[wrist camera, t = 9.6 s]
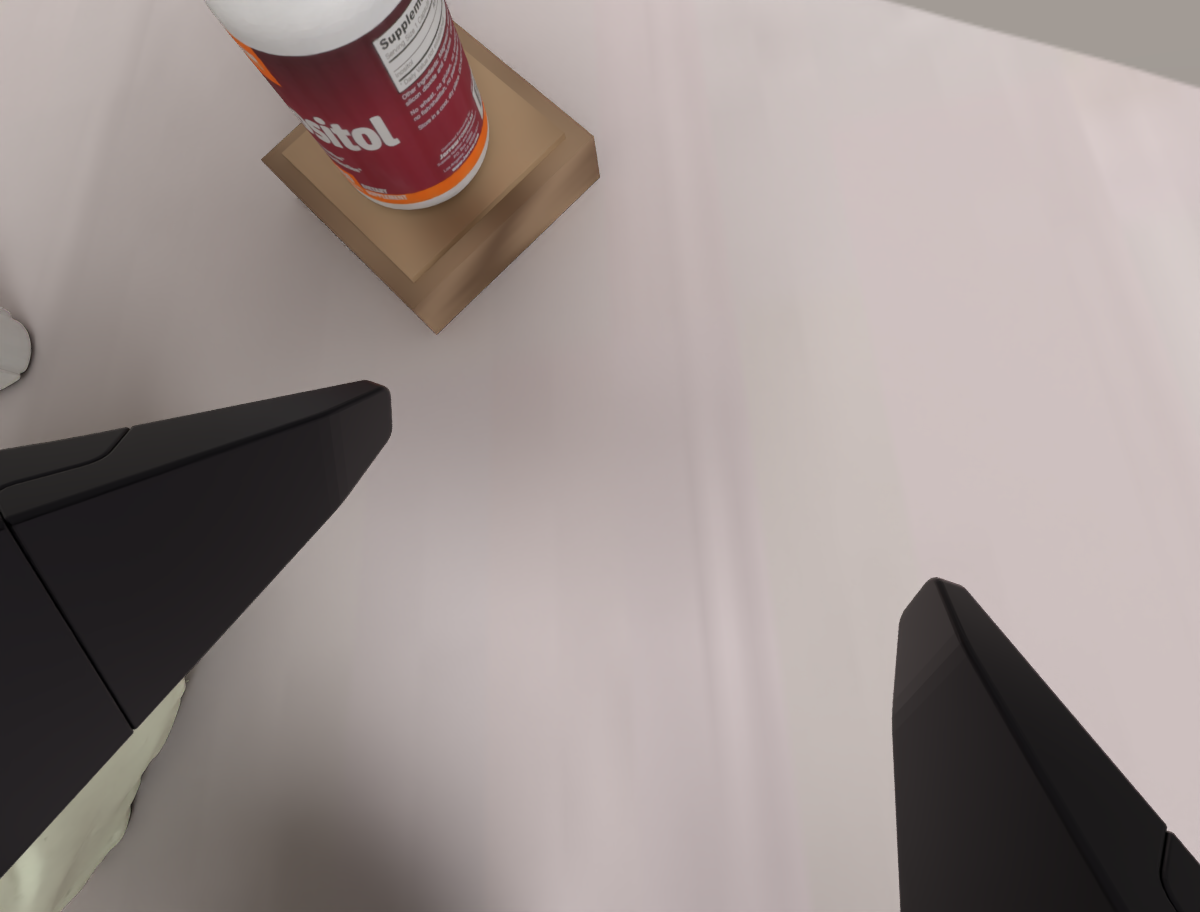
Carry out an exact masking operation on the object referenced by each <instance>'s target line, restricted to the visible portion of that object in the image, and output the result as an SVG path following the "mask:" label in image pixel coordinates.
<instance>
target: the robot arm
mask: <svg viewBox="0 0 1200 912" xmlns="http://www.w3.org/2000/svg"><path fill="white" fill-rule="evenodd" d="M391 432H392V409H391V394H390V391H389V389H388V388H387V387H385V386H383V385H380V384H377V383H374V382H371V381H368V380H362V381H357V382H352V383H347V384H342V385H337V386H332V387H327V388H322V389H317V390H312V391H307V392H302V393H296V394H291V395H286V396H281V397H276V398H271V399H266V400H261V401H256V402H251V403H246V404H241V405H236V406H231V407H226V408H221V409H216V410H211V411H206V412H201V413H196V414H191V415H186V416H181V417H176V418H171V419H166V420H161V421H156V422H151V423H146V424H141V425H136V426H133V427H132V428H131V429H130V428H127V427H125V428H120V429H115V430H110V431H105V432H100V433H95V434H89V435H84V436H79V437H73V438H68V439H62V440H57V441H52V442H45V443H39V444H33V445H27V446H20V447H14V448H8V449H2V450H0V879H1V878H2V877H3V876H4V874H5V873H6V872H7V871H8V870H9V869H10V868H11V867H12V866H13V865H14V864H15V862H16V861H17V860H18V859H19V858H20V857H21V856H22V855H23V854H24V853H25V851H26V850H27V849H28V848H29V847H30V846H31V845H32V844H33V843H34V842H35V840H36V839H37V838H38V837H39V836H40V835H41V834H42V833H43V832H44V831H45V829H46V828H47V827H48V826H49V825H50V824H51V823H52V822H53V821H54V820H55V819H56V817H57V816H58V815H59V814H60V813H61V812H62V811H63V810H64V809H65V808H66V807H67V805H68V804H69V803H70V802H71V801H72V800H73V799H74V798H75V797H76V796H77V794H78V793H79V792H80V791H81V790H82V789H83V788H84V787H85V786H86V785H87V784H88V782H89V781H90V780H91V779H92V778H93V777H94V776H95V775H96V774H97V773H98V771H99V770H100V769H101V768H102V767H103V766H104V765H105V764H106V763H107V762H108V761H109V759H110V758H111V757H112V756H113V755H114V754H115V753H116V752H117V751H118V750H119V748H120V747H121V746H122V745H123V744H124V743H125V742H126V741H127V740H128V739H129V738H130V736H131V735H132V734H133V733H134V731H133V730H135V729H137V728H138V727H139V726H140V725H141V724H142V723H143V722H144V721H145V719H146V718H147V717H148V716H149V715H150V714H151V713H152V712H153V711H154V710H155V708H156V707H157V706H158V705H159V704H160V703H161V702H162V701H163V700H164V699H165V698H166V696H167V695H168V694H169V693H170V692H171V691H172V690H173V689H174V688H175V687H176V685H177V684H178V683H179V682H180V681H181V680H182V679H183V678H184V677H185V676H186V675H187V673H188V672H189V671H190V670H191V669H192V668H193V667H194V666H195V665H196V664H197V662H198V661H199V660H200V659H201V658H202V657H203V656H204V655H205V654H206V653H207V651H208V650H209V649H210V648H211V647H212V646H213V645H214V644H215V643H216V642H217V641H218V639H219V638H220V637H221V636H222V635H223V634H224V633H225V632H226V631H227V630H228V628H229V627H230V626H231V625H232V624H233V623H234V622H235V621H236V620H237V619H238V618H239V616H240V615H241V614H242V613H243V612H244V611H245V610H246V609H247V608H248V607H249V605H250V604H251V603H252V602H253V601H254V600H255V599H256V598H257V597H258V596H259V594H260V593H261V592H262V591H263V590H264V589H265V588H266V587H267V586H268V585H269V584H270V582H271V581H272V580H273V579H274V578H275V577H276V576H277V575H278V574H279V573H280V571H281V570H282V569H283V568H284V567H285V566H286V565H287V564H288V563H289V562H290V561H291V559H292V558H293V557H294V556H295V555H296V554H297V553H298V552H299V551H300V550H301V548H302V547H303V546H304V545H305V544H306V543H307V542H308V541H309V540H310V539H311V537H312V536H313V535H314V534H315V533H316V532H317V531H318V530H319V529H320V528H321V527H322V525H323V524H324V523H325V522H326V521H327V520H328V519H329V518H330V517H331V516H332V514H333V513H334V512H335V511H336V510H337V509H338V507H339V506H340V505H341V504H342V503H343V501H344V500H345V499H346V498H347V496H348V495H349V494H350V492H351V491H352V490H353V488H354V487H355V485H356V484H357V483H358V481H359V480H360V479H361V477H362V476H363V474H364V473H365V472H366V470H367V469H368V467H369V466H370V465H371V463H372V462H373V461H374V459H375V458H376V456H377V455H378V454H379V452H380V451H381V450H382V448H383V447H384V445H385V444H386V443H387V441H388V440H389V438H390V435H391ZM892 738H893V760H894V782H895V803H896V825H897V847H898V869H899V891H900V912H1200V864H1199V863H1198V861H1197V860H1196V859H1195V858H1194V857H1193V855H1192V854H1191V853H1190V852H1189V851H1188V850H1187V848H1186V847H1185V846H1184V845H1183V844H1182V842H1181V841H1180V840H1179V839H1178V838H1177V837H1176V835H1175V834H1174V833H1172V832H1170V831H1167V826H1166V824H1165V823H1164V822H1163V820H1162V819H1161V818H1160V817H1159V816H1158V814H1157V813H1156V812H1155V811H1154V810H1153V809H1152V807H1151V806H1150V805H1149V804H1148V803H1147V802H1146V800H1145V799H1144V798H1143V797H1142V796H1141V794H1140V793H1139V792H1138V791H1137V790H1136V789H1135V787H1134V786H1133V785H1132V784H1131V783H1130V782H1129V780H1128V779H1127V778H1126V777H1125V776H1124V774H1123V773H1122V772H1121V771H1120V770H1119V769H1118V767H1117V766H1116V765H1115V764H1114V763H1113V761H1112V760H1111V759H1110V758H1109V757H1108V756H1107V754H1106V753H1105V752H1104V751H1103V750H1102V749H1101V747H1100V746H1099V745H1098V744H1097V743H1096V741H1095V740H1094V739H1093V738H1092V737H1091V736H1090V734H1089V733H1088V732H1087V731H1086V730H1085V729H1084V727H1083V726H1082V725H1081V724H1080V723H1079V721H1078V720H1077V719H1076V718H1075V717H1074V716H1073V714H1072V713H1071V712H1070V711H1069V710H1068V709H1067V707H1066V706H1065V705H1064V704H1063V703H1062V701H1061V700H1060V699H1059V698H1058V697H1057V696H1056V694H1055V693H1054V692H1053V691H1052V690H1051V689H1050V687H1049V686H1048V685H1047V684H1046V683H1045V681H1044V680H1043V679H1042V678H1041V677H1040V676H1039V674H1038V673H1037V672H1036V671H1035V670H1034V669H1033V667H1032V666H1031V665H1030V664H1029V663H1028V661H1027V660H1026V659H1025V658H1024V657H1023V656H1022V654H1021V653H1020V652H1019V651H1018V650H1017V649H1016V647H1015V646H1014V645H1013V644H1012V643H1011V641H1010V640H1009V639H1008V638H1007V637H1006V636H1005V634H1004V633H1003V632H1002V631H1001V630H1000V629H999V627H998V626H997V625H996V624H995V623H994V621H993V620H992V619H991V618H990V617H989V616H988V614H987V613H986V612H985V611H984V610H983V609H982V607H981V606H980V605H979V604H978V603H977V601H976V600H975V599H974V598H973V597H972V596H971V594H970V593H969V592H968V591H967V590H966V589H965V588H964V587H963V586H961V585H959V584H956V583H953V582H950V581H947V580H944V579H941V578H938V577H934V578H931V579H929V580H928V581H927V582H926V583H925V584H924V585H923V587H922V588H921V589H920V591H919V592H918V593H917V594H916V596H915V597H914V598H913V600H912V601H911V602H910V603H909V605H908V606H907V607H906V609H905V610H904V612H903V614H902V616H901V619H900V622H899V631H898V643H897V656H896V668H895V680H894V693H893V707H892Z"/></svg>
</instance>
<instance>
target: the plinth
mask: <svg viewBox="0 0 1200 912" xmlns="http://www.w3.org/2000/svg"><path fill="white" fill-rule="evenodd" d="M453 23H454V26H455V28H456V31H457V34H458V36H459V39H460V42H461V44H462V47H463V50H464V52H465V55H466V57H467V60H468V63H469V66H470V68H471V71H472V74H473V77H474V79H475V82H476V85H477V87H478V90H479V93H480V95H481V98H482V100H483V103H484V107H485V110H486V114H487V118H488V123H489V141H488V147H487V151H486V155H485V158H484V160H483V162H482V164H481V166H480V168H479V170H478V172H477V173H476V175H475V176H474V177H473V179H472V180H471V181H470V182H469V184H468V185H467V186H466V187H465V188H464V189H463V190H462V191H460V192H459V193H458V194H457V195H455V196H454V197H452V198H450V199H448V200H446V201H444V202H442V203H440V204H437V205H434V206H431V207H427V208H422V209H414V210H402V209H393V208H388V207H385V206H382V205H379V204H377V203H375V202H373V201H371V200H369V199H368V198H366V197H365V196H364V195H363V194H361V193H360V192H359V191H358V190H357V189H356V188H355V187H354V186H353V185H352V184H351V183H350V182H349V181H348V180H347V178H346V177H345V176H344V175H343V174H342V172H341V171H340V170H339V169H338V167H337V166H336V165H335V164H334V162H333V161H332V160H331V159H330V157H329V156H328V155H327V154H326V152H325V151H324V150H323V148H322V147H321V146H320V145H319V143H318V142H317V141H316V140H315V139H314V137H313V136H312V135H311V134H310V133H309V131H308V130H307V129H306V128H305V126H304V125H303V124H302V123H300V124H299V125H298V126H297V127H296V128H295V129H294V130H293V131H292V132H291V133H290V134H288V135H287V136H286V137H285V138H284V139H283V140H282V141H281V142H280V143H279V144H278V145H276V146H275V147H274V148H273V149H272V150H271V151H270V152H269V153H268V154H267V155H266V156H265V157H263V158H262V159H261V160H262V161H263V162H264V163H265V164H266V165H267V166H268V167H269V168H270V169H271V171H272V172H273V173H274V174H275V175H276V176H277V177H278V178H279V179H280V180H281V181H282V182H283V183H284V184H285V185H286V186H287V187H288V188H289V189H290V190H291V191H292V192H293V193H294V194H295V195H296V196H297V197H298V198H299V199H300V200H301V201H302V202H303V203H304V204H305V205H306V206H307V207H308V208H309V209H310V210H311V211H312V212H313V213H314V214H315V215H316V216H317V217H318V218H319V219H320V220H321V221H322V222H323V223H324V224H325V225H326V226H327V227H328V228H329V229H330V230H331V231H332V232H333V233H334V234H335V235H337V236H338V237H339V238H340V239H341V240H342V241H343V242H344V243H345V244H346V245H347V246H348V247H349V248H350V249H351V250H352V251H353V252H354V253H355V254H356V255H357V256H358V257H359V258H360V259H361V260H362V261H363V262H364V263H365V264H366V265H367V266H368V267H369V268H370V269H371V270H372V271H373V272H374V273H375V274H376V275H377V276H378V277H379V278H380V279H381V280H382V281H383V282H384V283H385V284H386V285H387V286H388V287H389V288H390V289H391V290H392V291H393V292H394V293H395V294H396V295H397V296H398V297H399V298H400V299H401V300H402V301H403V302H404V303H405V304H406V305H407V306H408V307H409V308H410V309H411V310H412V311H413V312H414V313H415V314H416V315H417V316H418V317H419V318H420V319H421V320H422V321H423V322H424V323H425V324H426V325H427V326H428V327H429V328H430V329H431V330H432V331H433V332H434V333H435V334H436V335H437V334H438V333H439V332H440V331H441V330H442V329H443V328H444V327H445V326H446V325H447V324H448V323H449V322H450V321H451V320H452V319H453V318H454V317H455V316H456V315H457V314H459V313H460V312H461V311H462V310H463V309H464V308H465V307H466V306H467V305H468V304H469V303H470V302H471V301H472V300H473V299H474V298H475V297H476V296H477V295H478V294H479V293H480V292H481V291H482V290H483V289H484V288H485V287H487V286H488V285H489V284H490V283H491V282H492V281H493V280H494V279H495V278H496V277H497V276H498V275H499V274H500V273H501V272H502V271H503V270H504V269H505V268H506V267H507V266H508V265H509V264H510V263H511V262H512V261H513V260H515V259H516V258H517V257H518V256H519V255H520V254H521V253H522V252H523V251H524V250H525V249H526V248H527V247H528V246H529V245H530V244H531V243H532V242H533V241H534V240H535V239H536V238H537V237H538V236H539V235H540V234H541V233H542V232H544V231H545V230H546V229H547V228H548V227H549V226H550V225H551V224H552V223H553V222H554V221H555V220H556V219H557V218H558V217H559V216H560V215H561V214H562V213H563V212H564V211H565V210H566V209H567V208H568V207H569V206H570V205H572V204H573V203H574V202H575V201H576V200H577V199H578V198H579V197H580V196H581V195H582V194H583V193H584V192H585V191H586V190H587V189H588V188H589V187H590V186H591V185H592V184H593V183H594V182H595V181H596V180H597V179H598V178H599V177H600V174H599V168H598V161H597V154H596V148H595V141H594V136H593V135H591V134H590V133H589V132H588V131H587V130H585V129H584V128H583V127H582V126H581V125H579V124H578V123H577V122H576V121H574V120H573V119H572V118H571V117H570V116H568V115H567V114H566V113H565V112H563V111H562V110H561V109H560V108H559V107H557V106H556V105H555V104H554V103H553V102H551V101H550V100H549V99H548V98H546V97H545V96H544V95H543V94H542V93H540V92H539V91H538V90H537V89H536V88H534V87H533V86H532V85H531V84H529V83H528V82H527V81H526V80H525V79H523V78H522V77H521V76H520V75H519V74H517V73H516V72H515V71H514V70H512V69H511V68H510V67H509V66H508V65H506V64H505V63H504V62H503V61H501V60H500V59H499V58H498V57H497V56H495V55H494V54H493V53H492V52H491V51H489V50H488V49H487V48H486V47H484V46H483V45H482V44H481V43H480V42H478V41H477V40H476V39H475V38H474V37H472V36H471V35H470V34H469V33H467V32H466V31H465V30H464V29H463V28H461V27H460V26H459V25H458V24H457V23H455V22H454V21H453Z"/></svg>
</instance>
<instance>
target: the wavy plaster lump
mask: <svg viewBox="0 0 1200 912" xmlns="http://www.w3.org/2000/svg"><path fill="white" fill-rule="evenodd" d="M187 682H188V681H187ZM185 688H186V684H185V678H183V679H182V680H181V681H180V682H179V683H178V684H177V685H176V687H175V688H174V689H173V690H172V691H171V692H170V693H169V694H168V695H167V696H166V698H165V699H164V700H163V701H162V702H161V703H160V704H159V705H158V706H157V707H156V708H155V710H154V711H153V712H152V713H151V714H150V715H149V716H148V717H147V718H146V719H145V721H144V722H143V723H142V724H141V725H140V726H139V727H138V728H137V729H135V730H133V731H134V733H133V734H132V735H131V736H130V738H129V739H128V740H127V741H126V742H125V743H124V744H123V745H122V746H121V747H120V748H119V750H118V751H117V752H116V753H115V754H114V755H113V756H112V757H111V758H110V759H109V761H108V762H107V763H106V764H105V765H104V766H103V767H102V768H101V769H100V770H99V771H98V773H97V774H96V775H95V776H94V777H93V778H92V779H91V780H90V781H89V782H88V784H87V785H86V786H85V787H84V788H83V789H82V790H81V791H80V792H79V793H78V794H77V796H76V797H75V798H74V799H73V800H72V801H71V802H70V803H69V804H68V805H67V807H66V808H65V809H64V810H63V811H62V812H61V813H60V814H59V815H58V816H57V817H56V819H55V820H54V821H53V822H52V823H51V824H50V825H49V826H48V827H47V828H46V829H45V831H44V832H43V833H42V834H41V835H40V836H39V837H38V838H37V839H36V840H35V842H34V843H33V844H32V845H31V846H30V847H29V848H28V849H27V850H26V851H25V853H24V854H23V855H22V856H21V857H20V858H19V859H18V860H17V861H16V862H15V864H14V865H13V866H12V867H11V868H10V869H9V870H8V871H7V872H6V873H5V874H4V876H3V877H2V878H1V879H0V912H60V911H61V910H62V909H63V908H64V907H65V906H66V905H67V904H68V903H69V902H70V901H71V900H72V899H73V898H74V897H75V896H76V895H77V894H78V893H79V892H80V890H81V889H82V888H83V887H84V885H85V884H86V882H87V881H88V879H89V877H90V876H91V875H92V873H93V872H94V870H95V869H96V867H97V866H98V865H99V864H100V863H101V862H102V861H103V859H104V858H105V856H106V855H107V853H108V852H109V851H110V850H111V849H112V848H113V847H115V846H116V845H117V844H118V843H119V842H120V840H121V839H122V837H123V836H124V833H125V831H126V828H127V825H128V821H129V817H130V813H131V810H130V805H131V803H132V801H133V799H134V797H135V795H136V793H137V791H138V788H139V786H140V782H141V775H142V774H143V772H144V771H145V769H146V768H147V766H148V765H149V763H150V762H151V761H152V759H153V758H154V757H156V756H157V755H158V753H159V752H160V750H161V749H162V747H163V745H164V744H165V742H166V740H167V738H168V735H169V733H170V730H171V728H172V726H173V723H174V720H175V717H176V715H177V712H178V709H179V706H180V702H181V696H182V695H183V693H184V691H185Z"/></svg>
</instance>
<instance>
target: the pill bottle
mask: <svg viewBox="0 0 1200 912" xmlns="http://www.w3.org/2000/svg"><path fill="white" fill-rule="evenodd" d="M204 1H205V3H206V4H207V6H208V7H209V8H210V10H211V11H212V13H213V14H214V15H215V16H216V18H217V19H218V20H219V21H220V23H221V24H222V25H223V27H224V28H225V29H226V30H227V32H228V33H229V34H230V35H231V37H232V38H233V39H234V40H235V41H236V43H237V44H238V45H239V47H240V48H241V49H242V50H243V51H244V53H245V54H246V55H247V56H248V57H249V59H250V60H251V61H252V62H253V64H254V65H255V66H256V67H257V68H258V69H259V71H260V72H261V73H262V74H263V76H264V77H265V78H266V79H267V81H268V82H269V83H270V84H271V85H272V87H273V88H274V89H275V90H276V92H277V93H278V94H279V95H280V97H281V98H282V99H283V100H284V102H285V103H286V104H287V105H288V107H289V108H290V109H291V110H292V112H293V113H294V114H295V115H296V116H297V118H298V119H299V120H300V121H301V122H302V124H303V125H304V126H305V128H306V129H307V130H308V131H309V133H310V134H311V135H312V136H313V137H314V139H315V140H316V141H317V142H318V143H319V145H320V146H321V147H322V148H323V150H324V151H325V152H326V154H327V155H328V156H329V157H330V159H331V160H332V161H333V162H334V164H335V165H336V166H337V167H338V169H339V170H340V171H341V172H342V174H343V175H344V176H345V177H346V178H347V180H348V181H349V182H350V183H351V184H352V185H353V186H354V187H355V188H356V189H357V190H358V191H359V192H360V193H361V194H363V195H364V196H365V197H366V198H368V199H369V200H371V201H373V202H375V203H377V204H379V205H382V206H385V207H388V208H393V209H402V210H414V209H422V208H427V207H431V206H434V205H437V204H440V203H442V202H444V201H446V200H448V199H450V198H452V197H454V196H455V195H457V194H458V193H459V192H460V191H462V190H463V189H464V188H465V187H466V186H467V185H468V184H469V182H470V181H471V180H472V179H473V177H474V176H475V175H476V173H477V172H478V170H479V168H480V166H481V164H482V162H483V160H484V158H485V155H486V151H487V147H488V141H489V123H488V118H487V114H486V110H485V107H484V103H483V100H482V98H481V95H480V93H479V90H478V87H477V85H476V82H475V79H474V77H473V74H472V71H471V68H470V66H469V63H468V60H467V57H466V55H465V52H464V50H463V47H462V44H461V42H460V39H459V36H458V34H457V31H456V28H455V26H454V23H453V20H452V18H451V15H450V12H449V10H448V7H447V4H446V2H445V0H204Z"/></svg>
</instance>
